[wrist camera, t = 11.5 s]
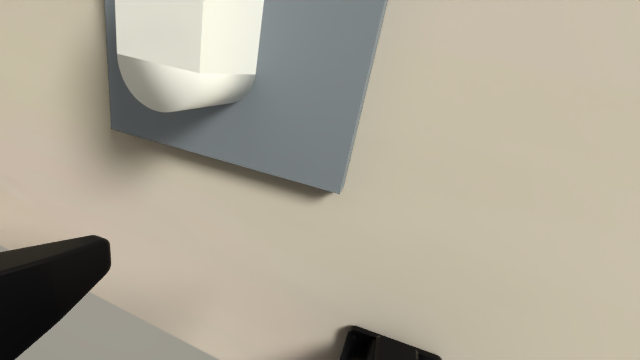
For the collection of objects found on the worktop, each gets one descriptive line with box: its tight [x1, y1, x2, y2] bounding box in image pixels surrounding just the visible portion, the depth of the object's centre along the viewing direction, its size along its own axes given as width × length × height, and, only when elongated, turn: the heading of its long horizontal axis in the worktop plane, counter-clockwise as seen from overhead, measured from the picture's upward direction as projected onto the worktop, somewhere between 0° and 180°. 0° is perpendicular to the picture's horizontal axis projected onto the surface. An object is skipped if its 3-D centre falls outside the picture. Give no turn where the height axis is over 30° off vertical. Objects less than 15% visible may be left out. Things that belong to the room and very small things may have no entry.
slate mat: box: [104, 0, 388, 194], centre depth 17 cm, size 16×16×1 cm
